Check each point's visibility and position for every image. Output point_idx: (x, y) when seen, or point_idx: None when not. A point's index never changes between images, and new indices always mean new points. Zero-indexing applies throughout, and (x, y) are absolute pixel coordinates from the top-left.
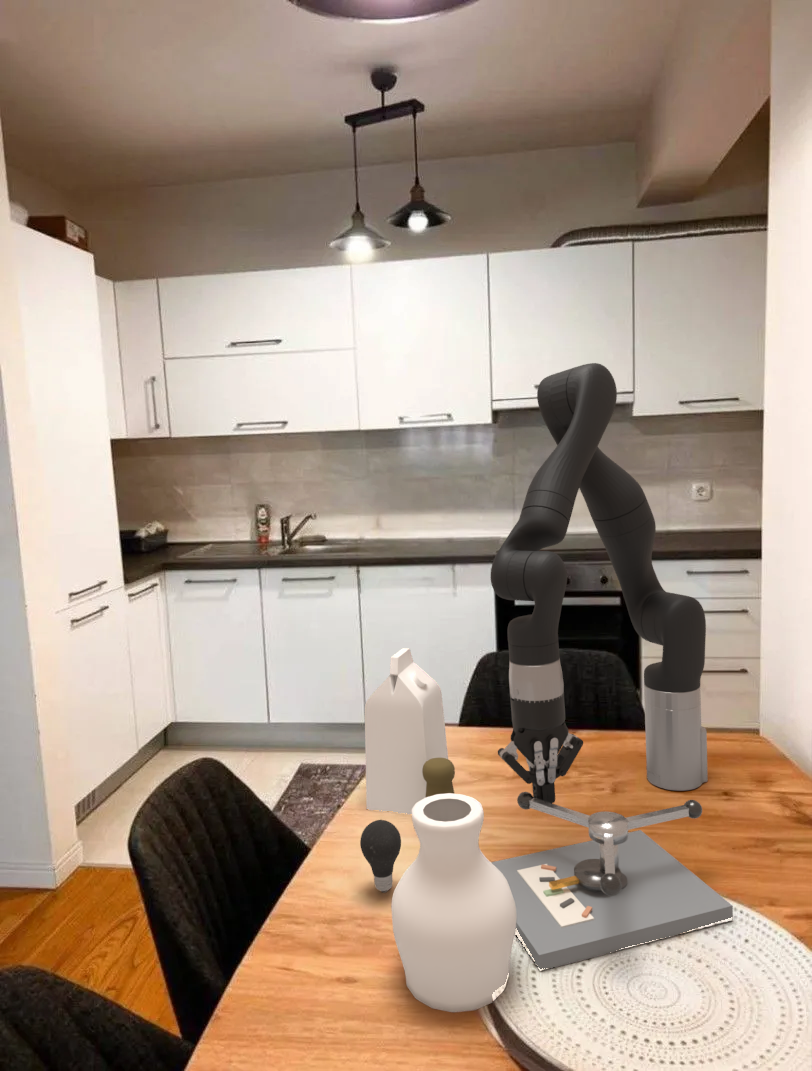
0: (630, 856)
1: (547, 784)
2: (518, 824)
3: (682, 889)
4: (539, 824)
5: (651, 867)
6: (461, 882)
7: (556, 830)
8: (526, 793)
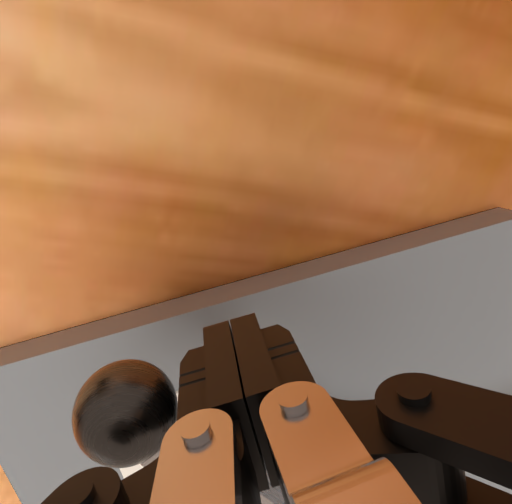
0: (437, 353)
1: (277, 485)
2: (150, 5)
3: (480, 479)
4: (234, 25)
5: None
6: None
7: (285, 86)
8: (126, 454)
